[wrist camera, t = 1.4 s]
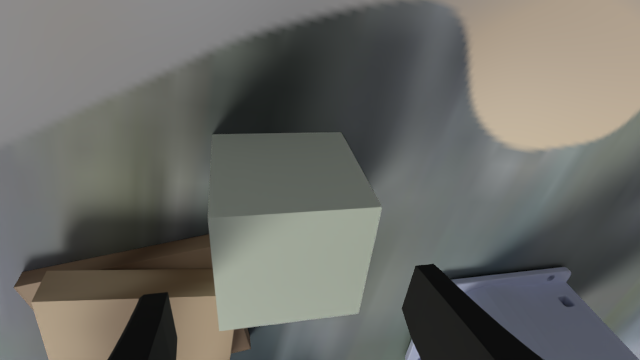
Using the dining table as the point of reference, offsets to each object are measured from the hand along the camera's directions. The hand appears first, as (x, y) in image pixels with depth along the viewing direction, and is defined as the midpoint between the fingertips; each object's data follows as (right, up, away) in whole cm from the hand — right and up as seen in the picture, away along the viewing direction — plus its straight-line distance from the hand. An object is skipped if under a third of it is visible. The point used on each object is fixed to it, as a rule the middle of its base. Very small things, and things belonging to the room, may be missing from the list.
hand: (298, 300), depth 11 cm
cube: (-1, +3, +5) cm, 6 cm away
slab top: (-7, -3, +7) cm, 11 cm away
